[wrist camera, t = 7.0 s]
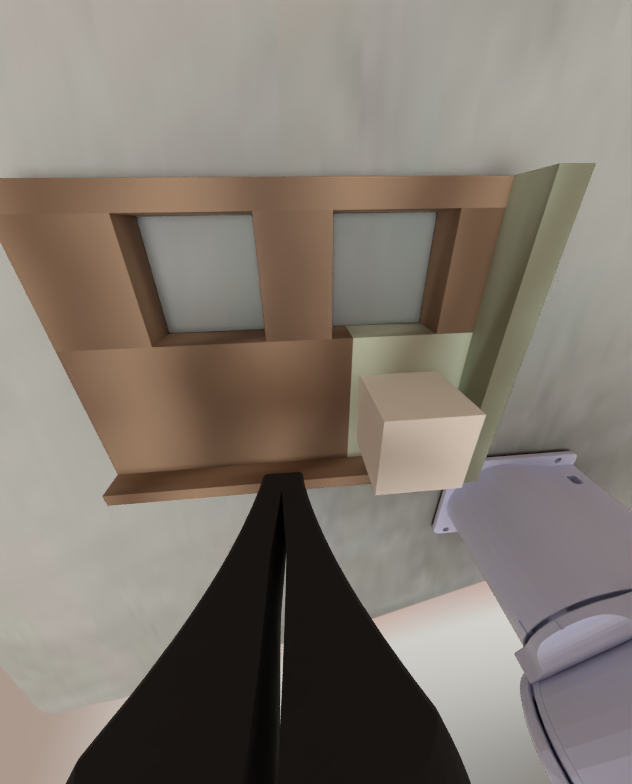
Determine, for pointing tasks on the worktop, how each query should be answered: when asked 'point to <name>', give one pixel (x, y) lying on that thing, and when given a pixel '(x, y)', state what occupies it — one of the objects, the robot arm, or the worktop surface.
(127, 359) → the trap deck
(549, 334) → the worktop surface
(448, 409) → the cream block
